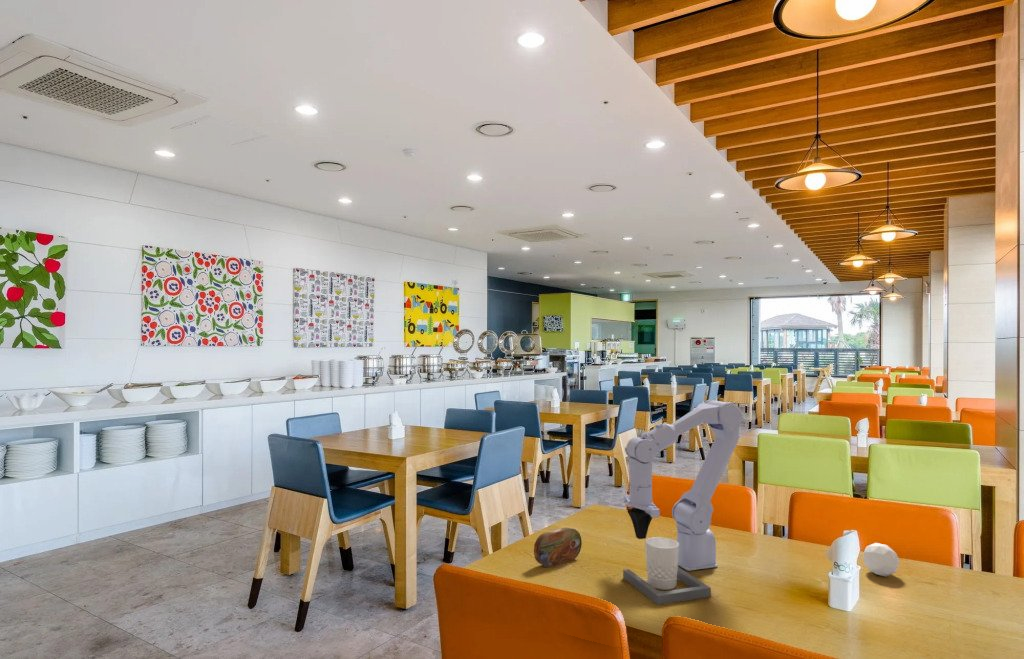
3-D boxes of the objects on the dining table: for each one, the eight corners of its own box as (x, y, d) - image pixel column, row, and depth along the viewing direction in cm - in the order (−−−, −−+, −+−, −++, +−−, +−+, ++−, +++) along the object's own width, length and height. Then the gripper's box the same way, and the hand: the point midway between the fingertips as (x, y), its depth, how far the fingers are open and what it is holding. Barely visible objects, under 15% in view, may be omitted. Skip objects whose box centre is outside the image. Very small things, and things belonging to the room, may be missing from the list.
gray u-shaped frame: (672, 571, 146) (672, 563, 146) (710, 596, 132) (710, 587, 132) (623, 577, 142) (623, 569, 142) (657, 604, 127) (657, 595, 127)
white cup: (680, 592, 134) (680, 549, 134) (645, 589, 135) (645, 546, 136) (677, 578, 142) (677, 538, 142) (644, 576, 143) (644, 536, 143)
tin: (539, 570, 146) (539, 537, 147) (531, 566, 149) (531, 534, 149) (582, 557, 155) (582, 526, 156) (574, 554, 158) (574, 523, 158)
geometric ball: (873, 586, 144) (852, 558, 146) (881, 566, 150) (860, 540, 151) (903, 580, 139) (880, 551, 140) (909, 560, 144) (887, 533, 146)
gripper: (613, 479, 154) (613, 530, 153) (641, 493, 140) (642, 549, 140) (636, 477, 156) (636, 528, 156) (666, 490, 142) (667, 546, 142)
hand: (641, 538), depth 148 cm, fingers closed
